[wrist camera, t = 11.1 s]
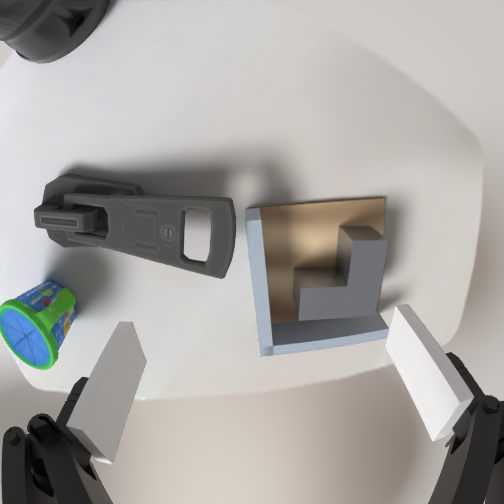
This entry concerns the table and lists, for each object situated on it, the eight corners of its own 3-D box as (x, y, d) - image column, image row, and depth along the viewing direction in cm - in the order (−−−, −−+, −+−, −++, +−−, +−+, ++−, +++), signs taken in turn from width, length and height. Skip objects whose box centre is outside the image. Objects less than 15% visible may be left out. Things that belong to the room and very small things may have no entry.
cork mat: (259, 207, 32) (259, 208, 31) (382, 197, 31) (384, 199, 31) (270, 321, 37) (270, 324, 37) (375, 307, 37) (376, 309, 36)
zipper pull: (230, 286, 28) (26, 258, 27) (233, 259, 34) (54, 239, 33) (240, 194, 25) (18, 183, 23) (242, 183, 31) (50, 174, 29)
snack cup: (69, 252, 33) (25, 287, 24) (109, 315, 37) (79, 361, 28) (17, 288, 36) (-18, 320, 26) (51, 339, 39) (23, 376, 30)
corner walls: (245, 208, 32) (244, 221, 27) (382, 197, 31) (402, 208, 26) (259, 331, 38) (261, 356, 33) (374, 316, 37) (387, 337, 33)
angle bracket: (292, 297, 35) (298, 320, 30) (295, 226, 32) (303, 241, 27) (361, 293, 35) (374, 315, 30) (370, 225, 32) (388, 240, 27)
